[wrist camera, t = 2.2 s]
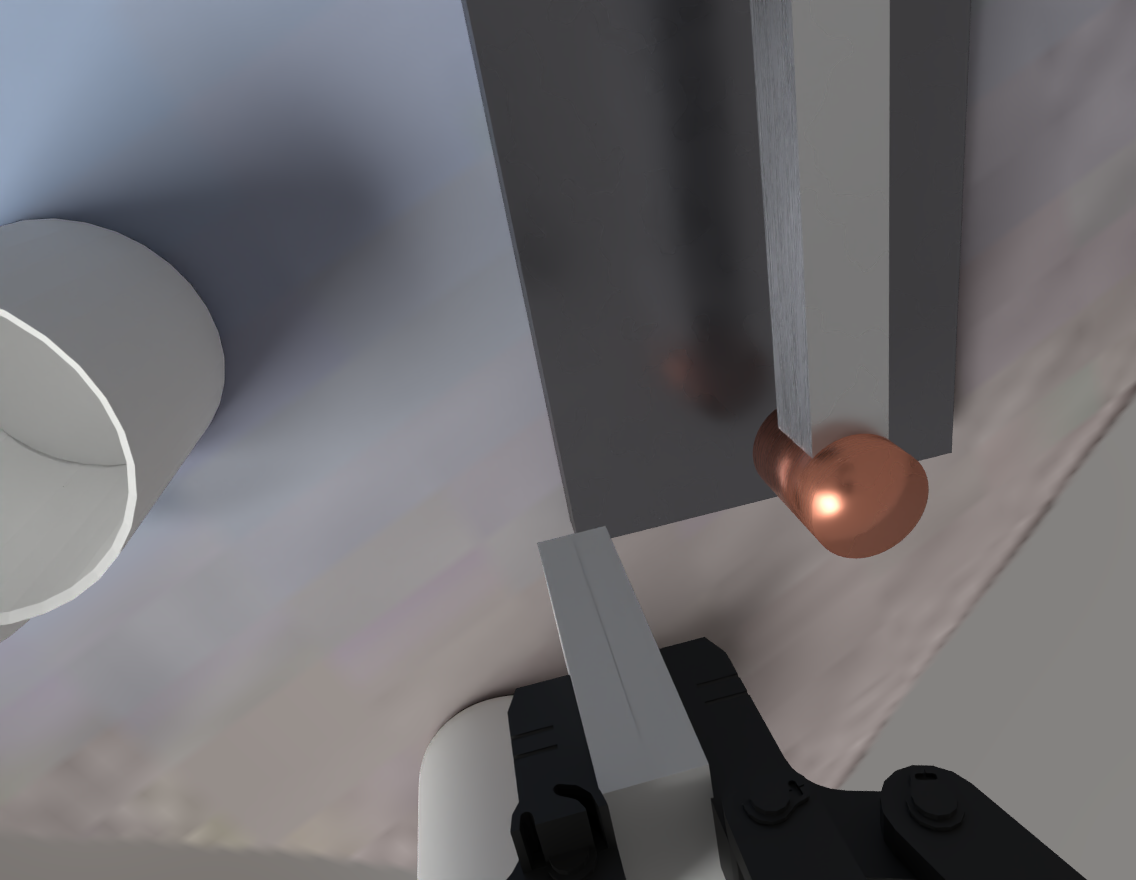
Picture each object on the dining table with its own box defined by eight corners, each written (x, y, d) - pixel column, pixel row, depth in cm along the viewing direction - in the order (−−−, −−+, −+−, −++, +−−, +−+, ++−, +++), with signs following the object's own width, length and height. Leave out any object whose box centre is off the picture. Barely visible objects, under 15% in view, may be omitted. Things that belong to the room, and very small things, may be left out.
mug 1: (-37, 166, 23) (-305, 197, 15) (261, 285, 26) (182, 369, 17) (-103, 491, 27) (-350, 667, 18) (166, 565, 29) (61, 746, 21)
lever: (594, -706, 15) (657, -1014, 11) (883, -739, 15) (1048, -1045, 11) (724, 510, 26) (776, 580, 22) (884, 469, 27) (963, 532, 23)
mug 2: (675, 684, 36) (764, 891, 27) (524, 842, 39) (557, 1084, 29) (536, 606, 33) (581, 809, 23) (382, 784, 36) (366, 1034, 26)
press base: (355, -503, 19) (326, -757, 13) (947, -581, 20) (1144, -844, 15) (570, 521, 32) (600, 607, 26) (922, 433, 33) (1022, 498, 27)
